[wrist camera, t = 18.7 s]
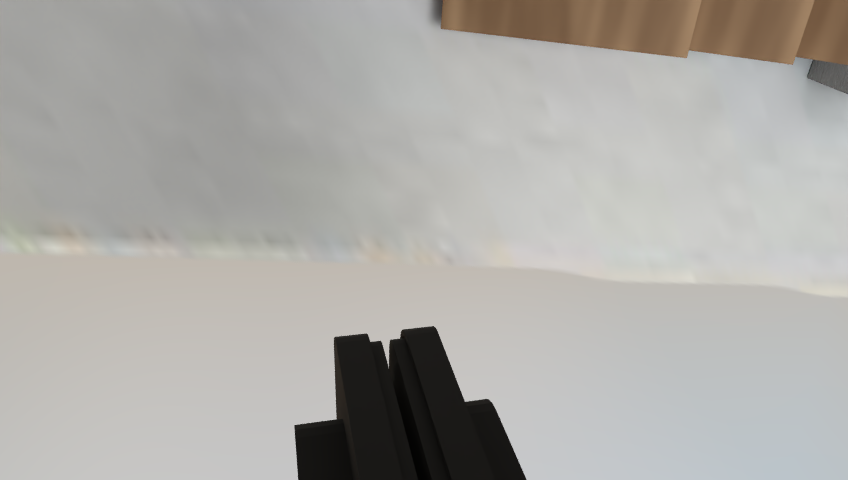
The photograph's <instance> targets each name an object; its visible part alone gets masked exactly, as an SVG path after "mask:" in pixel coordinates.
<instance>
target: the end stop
mask: <svg viewBox="0 0 848 480" xmlns="http://www.w3.org/2000/svg"><path fill="white" fill-rule="evenodd" d="M807 78H809V79H811V80H814V81H816V82H819V83H821V84H824V85H826V86H829V87H832V88H834V89H837V90H839V91H842V92H844V93H847V94H848V65H844V64H838V63H832V62H826V61H819V60H813V63H812V66H811V69H810V71H809V74H808V77H807Z"/></svg>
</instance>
